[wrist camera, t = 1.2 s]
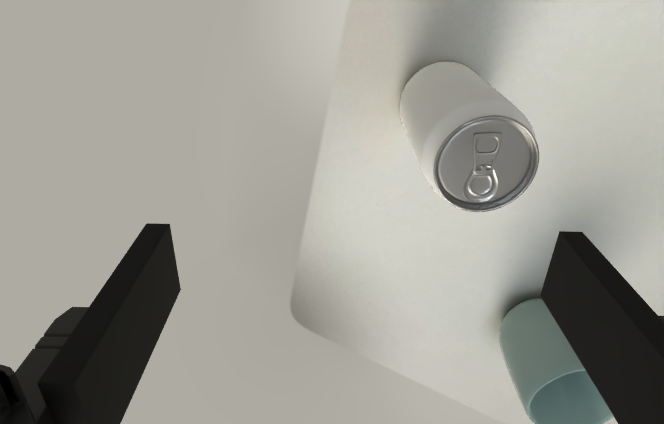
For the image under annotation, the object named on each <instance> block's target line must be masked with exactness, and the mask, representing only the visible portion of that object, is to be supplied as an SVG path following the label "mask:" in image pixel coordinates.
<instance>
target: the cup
mask: <svg viewBox="0 0 664 424" xmlns="http://www.w3.org/2000/svg"><path fill="white" fill-rule="evenodd" d="M499 339H500V346H501V351H502V354H503V357H504V360H505V363H506V366H507V369H508V371H509V374H510V377H511V379H512V382H513V384H514V386H515V389H516V391H517V394H518V396H519V398H520V401H521V403H522V405H523V407H524V410H525V411H526V413H527V415H528V416H529V418H530V419H531V420H532V422H534V423H535V424H603V423H605V422H607V421H608V420H610V419H611V418H612V417H613V414H612V413H611V411H610V409H609V408H608V406H607V404H606V403H605V401H604V399H603V398H602V396H601V395H600V393H599V391H598V390H597V388H596V386H595V385H594V383H593V381H592V380H591V378H590V377H589V375H588V373H587V372H586V370H585V368H584V367H583V365H582V363H581V362H580V360H579V359H578V357H577V355H576V354H575V352H574V350H573V349H572V347H571V345H570V344H569V342H568V341H567V339H566V337H565V336H564V334H563V332H562V331H561V329H560V328H559V326H558V324H557V323H556V321H555V319H554V318H553V316H552V314H551V313H550V311H549V310H548V308H547V306H546V305H545V303H544V301H543V300H542V299H530V300H527V301H524V302H522V303H520V304H518V305H517V306H515V307H514V308H512V309H511V310H510V311H509V312H508V313H507V314H506V316H505V317H504V319H503V320H502V323H501V326H500V329H499Z"/></svg>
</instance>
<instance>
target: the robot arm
mask: <svg viewBox="0 0 664 424" xmlns="http://www.w3.org/2000/svg"><path fill="white" fill-rule="evenodd" d="M180 290H181V289H180V283H179V277H178V271H177V266H176V259H175V253H174V248H173V242H172V236H171V229H170V224H146V225H145V227H144V228H143V230H142V231H141V232H140V234H139V235H138V237H137V238H136V240H135V241H134V243H133V244H132V246H131V247H130V248H129V250H128V251H127V253H126V254H125V256H124V257H123V259H122V260H121V262H120V263H119V264H118V266H117V267H116V269H115V270H114V272H113V273H112V275H111V276H110V278H109V279H108V280H107V282H106V283H105V285H104V286H103V288H102V289H101V291H100V292H99V294H98V295H97V296H96V298H95V299H94V301H93V302H92V304H91V305H90V307H72V308H70V309H69V310H67V311H66V312H65V313H63V314H62V315H61V316H59V317H58V318H57V319H55V320H54V322H53V323H52V324H51V326H50V327H49V328H48V330H47V331H46V332H45V334H44V337H42V338H41V339H40V340H39V342H38V343H37V344H36V346H35V349H32V351H31V352H30V353H29V355H28V356H27V357H26V359H25V360H24V361H23V363H22V364H21V365H20V367H19V368H18V369H17V371H16V372H15V373H14V371H12V369H11V368H10V367H7V366H4V365H0V424H120V423H121V421H122V419H123V416H124V414H125V412H126V409H127V407H128V405H129V403H130V401H131V399H132V396H133V394H134V392H135V390H136V387H137V385H138V383H139V381H140V379H141V376H142V374H143V372H144V370H145V367H146V365H147V363H148V361H149V358H150V356H151V354H152V352H153V349H154V348H155V345H156V343H157V341H158V339H159V336H160V334H161V332H162V330H163V328H164V325H165V323H166V321H167V318H168V316H169V314H170V312H171V310H172V307H173V305H174V303H175V301H176V299H177V296H178V294H179V292H180ZM540 296H541V298H542V300H543V301H544V303H545V305H546V306H547V308H548V310H549V311H550V313H551V314H552V316H553V318H554V319H555V321H556V323H557V324H558V326H559V328H560V329H561V331H562V332H563V334H564V336H565V337H566V339H567V341H568V342H569V344H570V345H571V347H572V349H573V350H574V352H575V354H576V355H577V357H578V359H579V360H580V362H581V363H582V365H583V367H584V368H585V370H586V372H587V373H588V375H589V377H590V378H591V380H592V381H593V383H594V385H595V386H596V388H597V390H598V391H599V393H600V395H601V396H602V398H603V399H604V401H605V403H606V404H607V406H608V408H609V409H610V411H611V413H612V414H613V416H614V417H615V419H616V421H617V422H618V424H664V316H658V315H657V314H656V313H655V312H654V311H653V310H652V309H651V308H650V307H649V305H648V304H647V303H646V302H645V301H644V300H643V299H642V298H641V297H640V295H639V294H638V293H637V292H636V291H635V290H634V289H633V288H632V287H631V286H630V284H629V283H628V282H627V281H626V280H625V279H624V278H623V277H622V276H621V274H620V273H619V272H618V271H617V270H616V269H615V268H614V267H613V266H612V264H611V263H610V262H609V261H608V260H607V259H606V258H605V257H604V256H603V255H602V253H601V252H600V251H599V250H598V249H597V248H596V247H595V246H594V245H593V243H592V242H591V241H590V240H589V239H588V238H587V237H586V236H585V235H584V234H583V232H559V235H558V238H557V242H556V245H555V248H554V252H553V255H552V258H551V262H550V265H549V268H548V271H547V275H546V278H545V281H544V285H543V288H542V291H541V295H540Z"/></svg>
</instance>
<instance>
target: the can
mask: <svg viewBox="0 0 664 424" xmlns="http://www.w3.org/2000/svg"><path fill="white" fill-rule="evenodd" d="M399 112H400V118H401V121H402V124H403V127H404V130H405V132H406V135H407V137H408V140H409V142H410V145H411V147H412V149H413V152H414V154H415V157H416V159H417V161H418V164H419V166H420V169H421V171H422V173H423V175H424V177H425V179H426V181H427V183H428V184H429V186H430V187H431V188H432V189H433V191H434V192H435V193H437V194H438V195H439V196H440V197H442V198H444V199H445V200H446V201H447V202H449V203H450V204H452V205H453V206H455V207H457V208H459V209H462V210H466V211H471V212H485V211H491V210H495V209H498V208H501V207H503V206H505V205H507V204H509V203H511V202H512V201H514V200H515V199H516V198H518V197H519V196H520V195H521V194H522V193H523V192H524V191H525V190H526V189H527V188H528V186H529V185H530V183H531V182H532V180H533V178H534V176H535V174H536V171H537V168H538V163H539V150H538V145H537V142H536V140H535V135H534V131H533V128H532V126H531V124H530V122H529V121H528V119H527V118H526V117H525V115H524V114H523V113H522V112H521V111H520V110H519V109H518V108H517V107H516V106H515V105H513V104H512V103H511V102H510V101H509V100H508V99H506V98H505V97H504V96H503V95H502V94H501V93H499V92H498V91H497V90H496V89H495V88H493V87H492V86H491V85H490V84H489V83H487V82H486V81H485V80H484V79H482V78H481V77H480V76H479V75H478V74H476V73H475V72H474V71H472V70H471V69H470V68H468V67H466V66H464V65H462V64H459V63H456V62H438V63H434V64H431V65H428V66H426V67H424V68H423V69H421V70H420V71H418V72H417V73H416V74H415V75H414V76H413V77H412V78H411V79H410V80H409V81H408V83H407V84H406V86H405V88H404V90H403V92H402V95H401V98H400V104H399Z"/></svg>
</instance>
